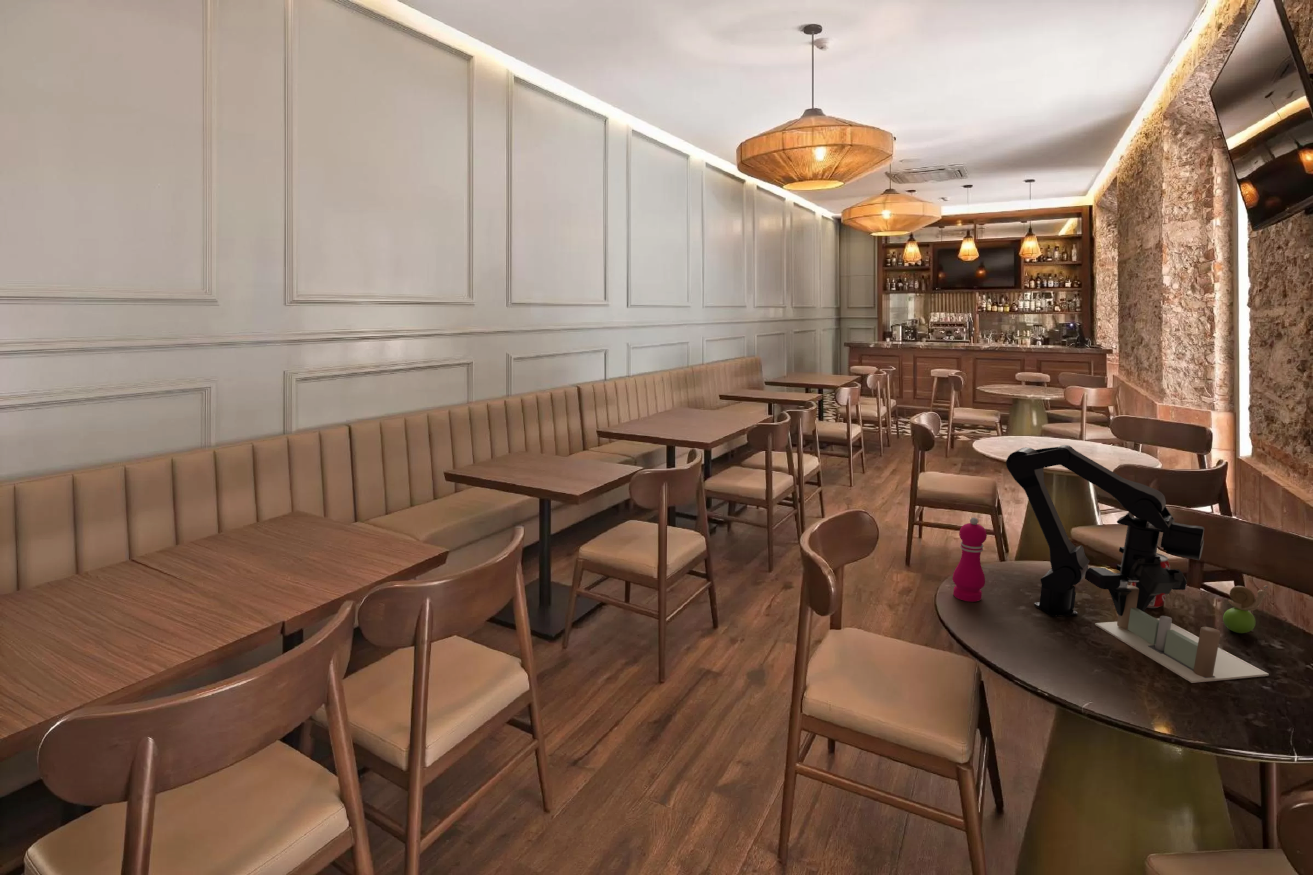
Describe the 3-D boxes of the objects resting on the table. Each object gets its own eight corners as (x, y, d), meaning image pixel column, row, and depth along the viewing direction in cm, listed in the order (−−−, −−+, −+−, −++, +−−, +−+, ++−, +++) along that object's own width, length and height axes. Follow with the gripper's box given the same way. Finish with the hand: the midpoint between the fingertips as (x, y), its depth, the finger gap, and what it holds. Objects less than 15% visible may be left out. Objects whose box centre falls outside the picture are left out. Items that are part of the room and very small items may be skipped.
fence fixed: (1216, 676, 134) (1224, 633, 132) (1203, 678, 133) (1211, 634, 131) (1163, 646, 145) (1169, 606, 143) (1150, 647, 145) (1156, 606, 143)
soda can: (1153, 597, 170) (1160, 551, 167) (1171, 610, 163) (1178, 562, 160) (1122, 596, 170) (1128, 549, 168) (1138, 609, 163) (1146, 560, 161)
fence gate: (1162, 643, 145) (1169, 603, 144) (1149, 644, 145) (1155, 604, 143) (1125, 622, 155) (1131, 584, 153) (1113, 623, 154) (1119, 585, 153)
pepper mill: (945, 590, 173) (952, 513, 169) (973, 589, 174) (980, 512, 170) (960, 603, 166) (967, 522, 162) (989, 602, 167) (997, 521, 163)
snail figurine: (1251, 641, 148) (1261, 588, 146) (1216, 629, 154) (1225, 577, 151) (1263, 636, 151) (1273, 583, 148) (1228, 623, 156) (1237, 573, 154)
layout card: (1191, 682, 132) (1192, 680, 132) (1094, 624, 156) (1095, 622, 155) (1268, 675, 135) (1268, 673, 135) (1161, 619, 158) (1162, 617, 158)
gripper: (1123, 561, 141) (1111, 632, 144) (1213, 561, 142) (1199, 632, 145) (1088, 541, 152) (1078, 608, 155) (1172, 542, 153) (1160, 609, 156)
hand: (1129, 615), depth 153 cm, fingers open, 4 cm apart
